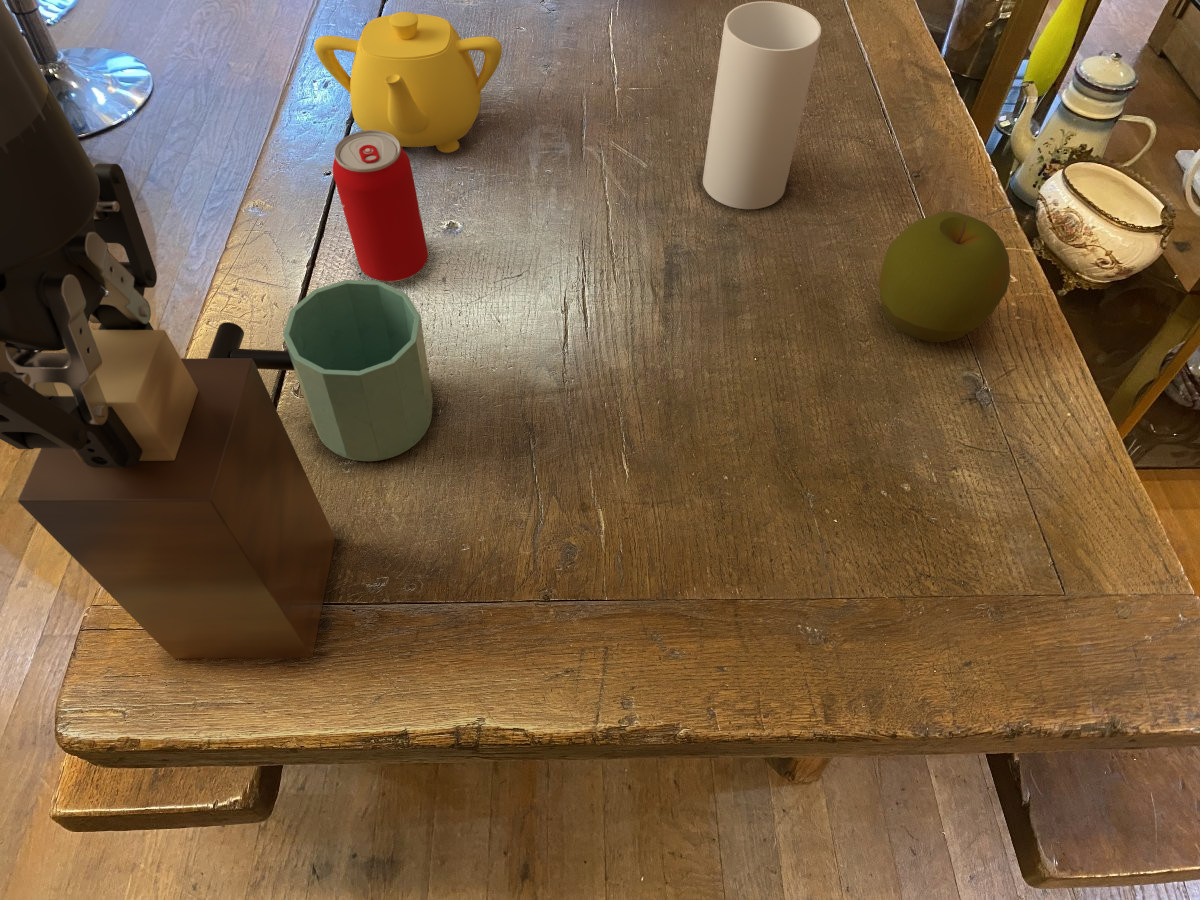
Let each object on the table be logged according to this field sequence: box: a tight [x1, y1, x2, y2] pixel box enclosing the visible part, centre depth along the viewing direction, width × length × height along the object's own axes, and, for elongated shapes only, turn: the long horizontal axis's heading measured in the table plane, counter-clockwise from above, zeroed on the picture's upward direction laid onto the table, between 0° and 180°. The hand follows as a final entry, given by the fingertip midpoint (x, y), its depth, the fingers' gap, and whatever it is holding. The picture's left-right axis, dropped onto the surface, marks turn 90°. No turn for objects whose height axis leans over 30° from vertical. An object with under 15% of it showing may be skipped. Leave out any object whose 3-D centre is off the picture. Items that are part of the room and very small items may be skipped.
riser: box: [17, 357, 336, 660], centre depth 50 cm, size 9×9×19 cm
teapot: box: [313, 11, 503, 153], centre depth 85 cm, size 14×14×12 cm
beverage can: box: [332, 130, 429, 283], centre depth 73 cm, size 6×6×12 cm
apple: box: [877, 210, 1011, 343], centre depth 70 cm, size 10×10×11 cm
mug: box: [207, 279, 434, 462], centre depth 63 cm, size 15×9×10 cm, turn 90°
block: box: [54, 329, 198, 461], centre depth 41 cm, size 4×4×4 cm
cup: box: [702, 0, 822, 210], centre depth 79 cm, size 8×8×16 cm
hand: (136, 417), depth 42 cm, fingers closed on block, 4 cm apart
